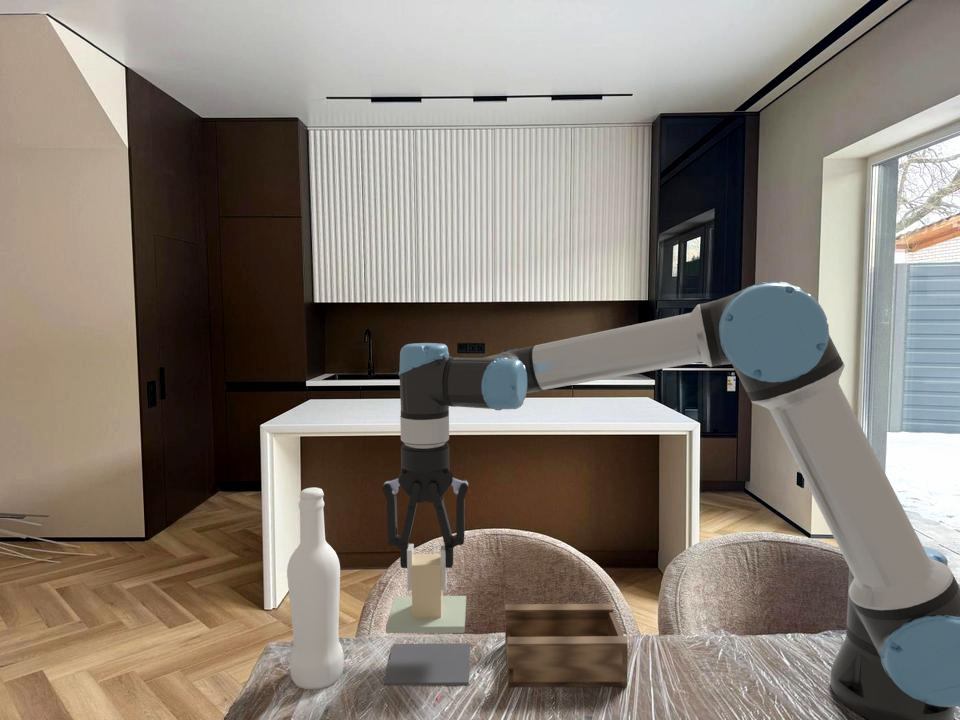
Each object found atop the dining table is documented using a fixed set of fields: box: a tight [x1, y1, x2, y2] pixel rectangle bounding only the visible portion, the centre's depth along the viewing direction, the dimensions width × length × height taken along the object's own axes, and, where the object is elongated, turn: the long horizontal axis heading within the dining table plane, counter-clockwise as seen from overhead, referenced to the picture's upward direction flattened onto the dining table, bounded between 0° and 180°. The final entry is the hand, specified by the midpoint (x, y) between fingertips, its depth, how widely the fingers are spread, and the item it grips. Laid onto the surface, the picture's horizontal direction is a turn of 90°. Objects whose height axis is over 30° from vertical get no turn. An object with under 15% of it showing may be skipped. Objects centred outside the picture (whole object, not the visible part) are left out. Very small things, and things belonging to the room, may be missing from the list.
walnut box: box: [504, 603, 629, 688], centre depth 102 cm, size 18×12×7 cm
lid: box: [385, 553, 467, 634], centre depth 101 cm, size 12×10×10 cm
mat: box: [383, 642, 471, 686], centre depth 102 cm, size 13×11×1 cm
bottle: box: [286, 487, 345, 690], centre depth 98 cm, size 8×8×30 cm
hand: (427, 586), depth 101 cm, fingers closed on lid, 4 cm apart
